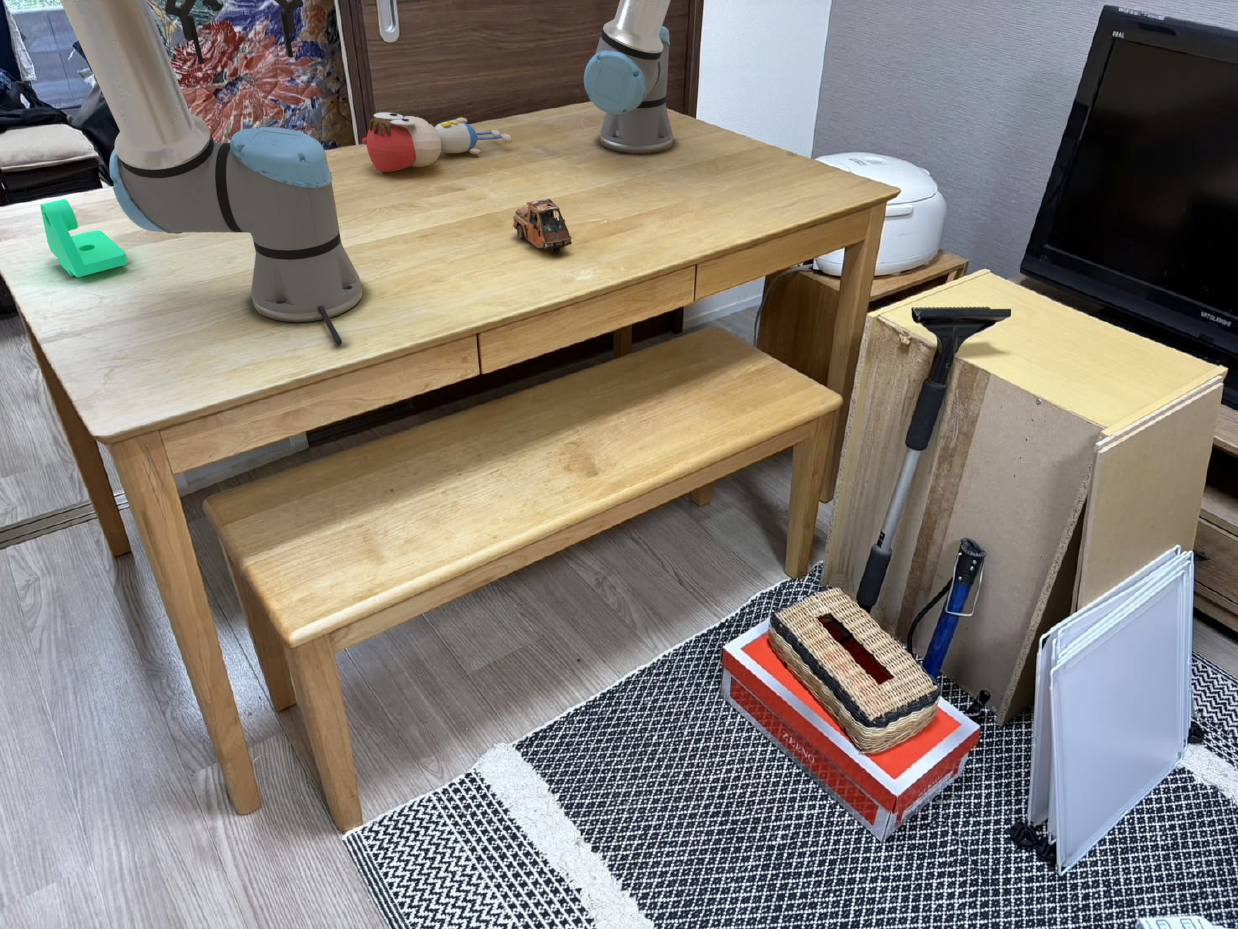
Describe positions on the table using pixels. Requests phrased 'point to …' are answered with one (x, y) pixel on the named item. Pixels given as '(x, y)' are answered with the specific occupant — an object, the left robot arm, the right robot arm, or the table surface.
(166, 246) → the table surface
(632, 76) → the right robot arm
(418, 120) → the toy
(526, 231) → the toy car
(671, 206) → the table surface
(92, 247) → the camera mount
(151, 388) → the table surface
